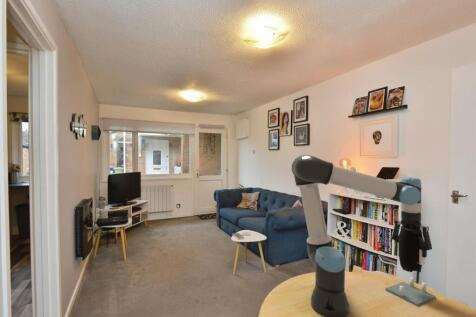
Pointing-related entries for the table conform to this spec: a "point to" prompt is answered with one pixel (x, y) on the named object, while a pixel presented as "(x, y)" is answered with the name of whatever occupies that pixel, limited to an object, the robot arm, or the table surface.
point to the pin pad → (411, 292)
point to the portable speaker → (409, 249)
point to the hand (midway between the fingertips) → (410, 259)
